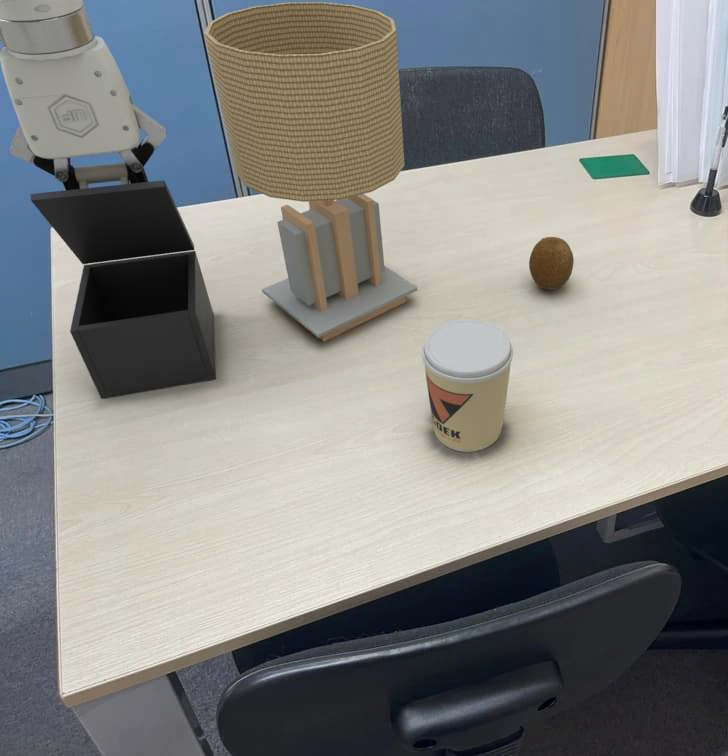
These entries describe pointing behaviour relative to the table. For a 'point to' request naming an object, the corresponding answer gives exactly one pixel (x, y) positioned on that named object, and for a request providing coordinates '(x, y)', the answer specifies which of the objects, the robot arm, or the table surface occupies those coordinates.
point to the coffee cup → (467, 382)
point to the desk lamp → (317, 147)
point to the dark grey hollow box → (145, 324)
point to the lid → (115, 216)
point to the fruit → (551, 263)
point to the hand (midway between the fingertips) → (115, 203)
